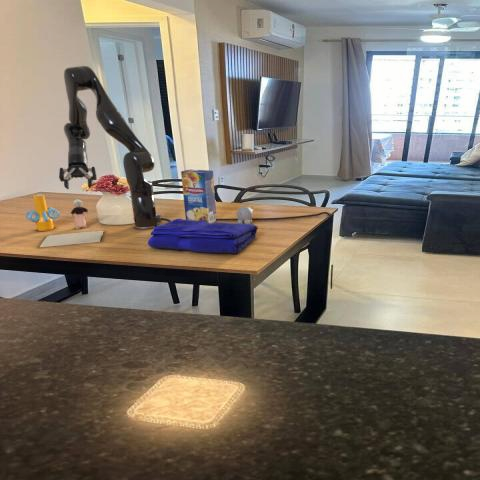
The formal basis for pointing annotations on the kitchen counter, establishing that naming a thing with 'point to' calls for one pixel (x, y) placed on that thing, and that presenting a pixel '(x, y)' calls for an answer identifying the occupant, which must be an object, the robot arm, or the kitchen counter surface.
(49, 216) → the yellow cone toy
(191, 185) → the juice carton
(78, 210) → the grandmother figurine
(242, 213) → the round bodied animal figurine
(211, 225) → the towel
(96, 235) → the cloth
